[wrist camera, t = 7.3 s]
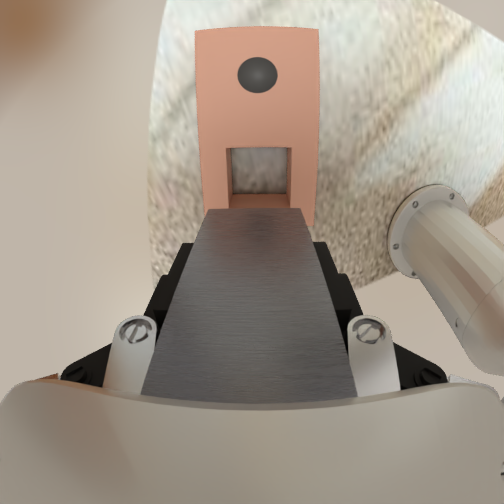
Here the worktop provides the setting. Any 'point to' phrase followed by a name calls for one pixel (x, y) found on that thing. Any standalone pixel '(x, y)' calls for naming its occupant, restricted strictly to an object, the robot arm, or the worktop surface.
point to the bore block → (258, 110)
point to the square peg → (251, 317)
